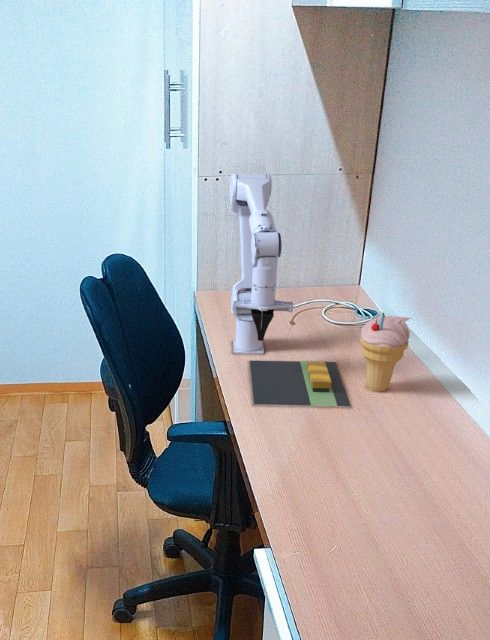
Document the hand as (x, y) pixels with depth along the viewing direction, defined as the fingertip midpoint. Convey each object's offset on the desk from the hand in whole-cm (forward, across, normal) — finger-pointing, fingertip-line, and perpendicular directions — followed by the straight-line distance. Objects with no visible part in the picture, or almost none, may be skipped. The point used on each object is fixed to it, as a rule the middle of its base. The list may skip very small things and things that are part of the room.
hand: (260, 339), depth 180 cm
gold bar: (+8, +14, -7) cm, 18 cm away
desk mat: (+8, +9, -7) cm, 14 cm away
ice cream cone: (+9, +28, -9) cm, 31 cm away
